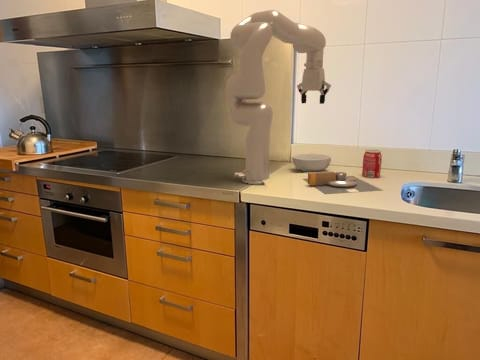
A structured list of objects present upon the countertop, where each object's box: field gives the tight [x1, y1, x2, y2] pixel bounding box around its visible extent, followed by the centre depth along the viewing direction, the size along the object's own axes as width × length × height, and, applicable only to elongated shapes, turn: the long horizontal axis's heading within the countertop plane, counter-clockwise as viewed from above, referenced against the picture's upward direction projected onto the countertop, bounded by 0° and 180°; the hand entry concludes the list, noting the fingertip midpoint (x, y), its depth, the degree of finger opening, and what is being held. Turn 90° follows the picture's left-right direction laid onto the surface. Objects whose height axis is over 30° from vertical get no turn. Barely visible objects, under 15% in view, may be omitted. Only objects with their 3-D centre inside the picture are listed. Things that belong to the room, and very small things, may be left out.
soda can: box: [361, 149, 383, 179], centre depth 145 cm, size 7×7×12 cm
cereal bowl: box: [292, 152, 332, 174], centre depth 162 cm, size 17×17×7 cm
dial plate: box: [302, 175, 384, 195], centre depth 135 cm, size 22×22×2 cm
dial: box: [307, 171, 357, 187], centre depth 134 cm, size 18×12×4 cm, turn 101°
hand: (312, 103), depth 169 cm, fingers open, 9 cm apart
